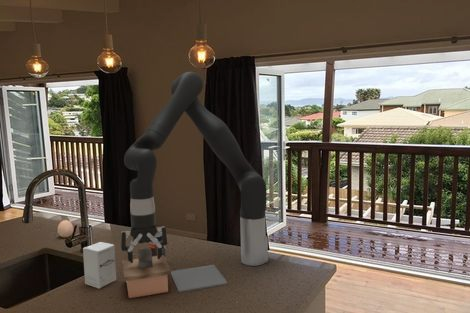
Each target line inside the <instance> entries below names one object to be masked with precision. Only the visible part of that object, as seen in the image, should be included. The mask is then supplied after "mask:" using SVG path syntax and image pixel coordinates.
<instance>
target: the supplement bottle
mask: <svg viewBox="0 0 470 313" xmlns="http://www.w3.org/2000/svg"><path fill="white" fill-rule="evenodd" d="M155 237H156V238H157V240H158V241H159V242H161V241H162V234H160V233H156V235H155ZM148 248H151V251H152V257H153V256H157V245H156V244H154V243H153V241H150V242H148ZM166 252H167V251H166V245H164V246H163V247H162V255H164V256H165V258H166V259H167V256H166V254H167V253H166Z"/></svg>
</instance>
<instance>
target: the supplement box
mask: <svg viewBox="0 0 470 313" xmlns="http://www.w3.org/2000/svg"><path fill="white" fill-rule="evenodd" d="M115 249H116V248H115V244H113V243H108V242H103V241H99V242H96V243H93V244H91V245H89V246H85V247H83V248H82V252H83V254H82V256H83V270H84V271H83V272H84V284H85V285H88V286H91V287H93V288H96V289H98V290H99V289H101V288H103V287H104V286H107V285H109V284H112V283H114V282H115V281H117V267H116V250H115Z"/></svg>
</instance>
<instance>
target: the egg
mask: <svg viewBox="0 0 470 313" xmlns="http://www.w3.org/2000/svg"><path fill="white" fill-rule="evenodd" d="M73 232H74V226H73V223H72V222H71V221H69V220H67V219H64V220H62V221H60V222H59V224H58V225H57V234H58V235H59V236H60V237H61V238H69V237H70V236H71V235H72V234H73Z"/></svg>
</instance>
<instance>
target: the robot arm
mask: <svg viewBox="0 0 470 313" xmlns="http://www.w3.org/2000/svg"><path fill="white" fill-rule="evenodd" d="M203 89H204V82H203V79H202V77H201V76H200V75H199V74H198V73H197V72H194V71H186V72H184V73H182V74H180V75H179V76H177V78H176V79H174V81H173V82H172V83H171V84H170V93H171V95H172V96H171V98H169V100H168V101H167V103H166V104H165V105H164V107H163V108H162V109H161V110H160V111H159V112H158V113H157V114H156V116H155V117H154V119H153V120H152V121H151V122H150V123H149V125H148V127H147V128H146V130H145V131H144V133H143V134H142V135H141V136H140V137H139V138H138V139H136V141H134V142H133V144H131V145H130V147H129V148H128V149H127V150H126V152H125V154H124V158H123V162H124V166H125V167H126V168H127V169H128V170H131V171H136V172H137V175H136V178H133V179H132V180H131V181H130V183H129V194H130V204H129V206H130V210H129V212H130V223H131V224H130V226H131V228H130V230H124V229H122V230H121V234H120V237H121V238H120V240H121V241H120V242H121V243H120V245H121V246H120V247H121V251H122V252H126V253H127V260H128V261H130V262H131V263H133V259H134V258H133V257H134V256H133V255H134V254H133V250H134V248H135V247H136V245H137V244H144V243H147V244H149V242H150V241H153V243H154V244H156V245H157V258H158V259H160V257H162V247H163V246H164V245H165V246H168V236H167V229H166V227H165V225H161V226H158V227H157V226H156V224H157V223H156V204H155V200H154V199H155V197H154V180H155V176H156V172H157V165H158V160H157V156H156V154H155V152H154V151H157V150H159V149H161V148H162V147H163V145H164V144H165V143H166V141H167V140H168V138H169V136H170V135H171V133H172V131H173V129H175V126H176V125H177V123H178V122H179V120H180V119H181V117H182V116H183V114H184V113H185V114H186V115H187V116H188V117H189V118H190V120H191V121H192V123H193V124H194V125H195V127H196V128H197V130H198V131H199V132H200V134H201V136H202V137H203V138H204V140H205V142H206V143H207V144H208V146H209V147H210V149H211V150H212V152H214V154H215V155H216V157H217V158H218V159H219V160H220V162H222V163H223V164H224V165H225V166H226V167H227V169H228V171H229V172H230V173H231V175H232V176H233V178H234V180H235V182H236V184H237V186H238V189H239V190H240V210H239V213H240V214H239V215H240V217H239V218H240V221H239V222H240V224H239V225H240V262H241V263H242V264H243V265H245V266H261V265H264V264H266V263H268V262H269V252H268V248H269V246H268V245H269V244H268V241H269V238H268V236H267V235H266V234H267V233H266V211H267V203H268V202H267V199H268V198H267V196H268V195H267V193H268V192H267V183H266V181H265V180H264V178H263V177H262V176H261V175H260V174H259V173H258V172H257V171H256V170H255V169H254V167H253V166H252V165H251V164H250V163H249V161H248V160H247V159H246V157H245V156H244V153H243V151H242V149H241V147H240V145H239V143H238V141H237V138H235V136H234V134H233V133H232V132H231V129H230V128H229V127H228V126H227V124H226V123H225V122H224V121H223V120H222V119H220V118H219V117H218V116H216V115H215V114H213V113H212V112H210V111H209V110H208V109H207V108H206V107H205V106H204V104H203V103H202V101H201V100H200V99H199V96H200V95H201V93H202V92H203ZM158 232H159V233H158ZM156 234H162V241H161V242H159V241H158V240H157V238H156V237H155V235H156ZM129 236H131V237H132V239H131V241H130V242H129V244H128V245H126V244H127V243H126V240H127V239H128V238H129Z"/></svg>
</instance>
